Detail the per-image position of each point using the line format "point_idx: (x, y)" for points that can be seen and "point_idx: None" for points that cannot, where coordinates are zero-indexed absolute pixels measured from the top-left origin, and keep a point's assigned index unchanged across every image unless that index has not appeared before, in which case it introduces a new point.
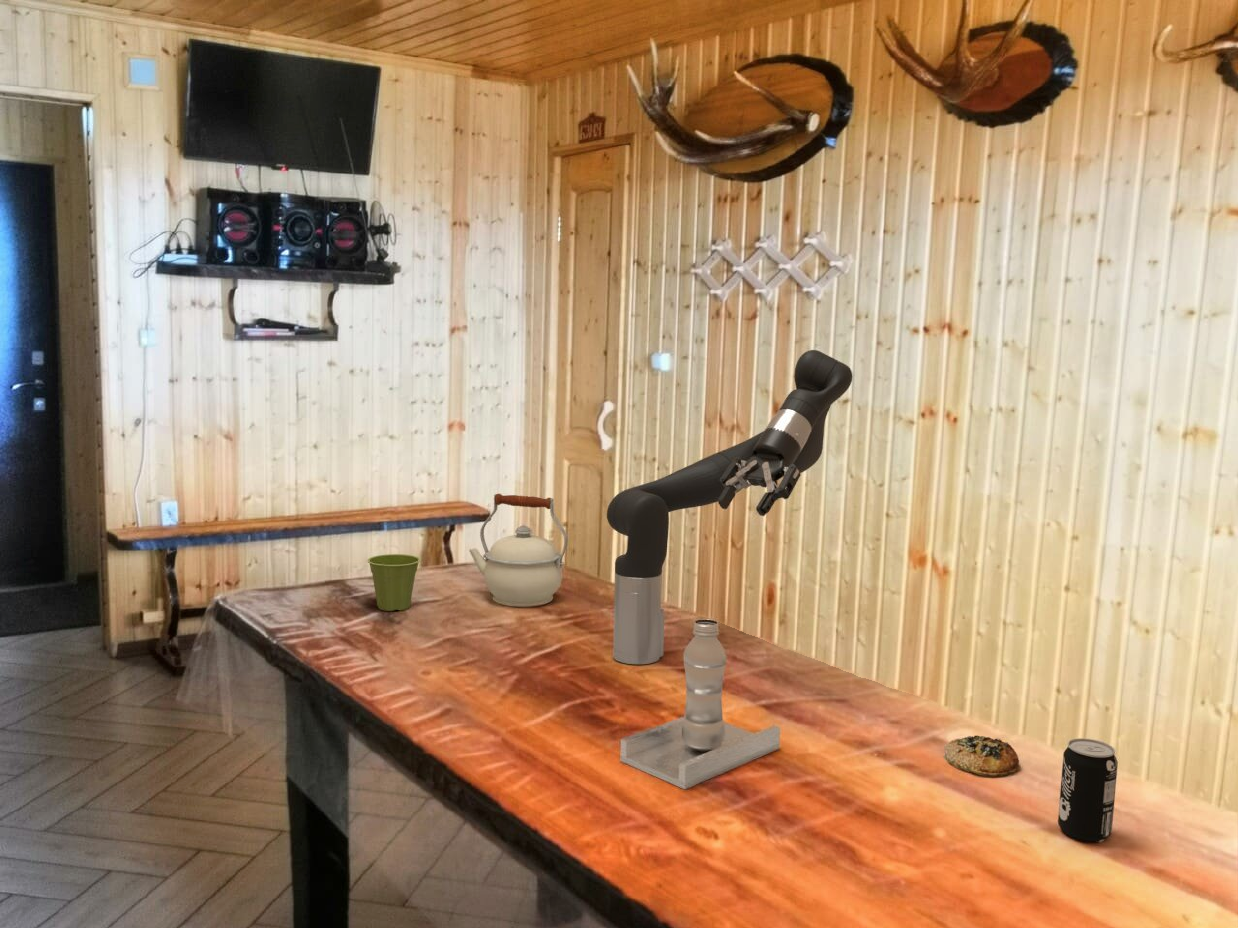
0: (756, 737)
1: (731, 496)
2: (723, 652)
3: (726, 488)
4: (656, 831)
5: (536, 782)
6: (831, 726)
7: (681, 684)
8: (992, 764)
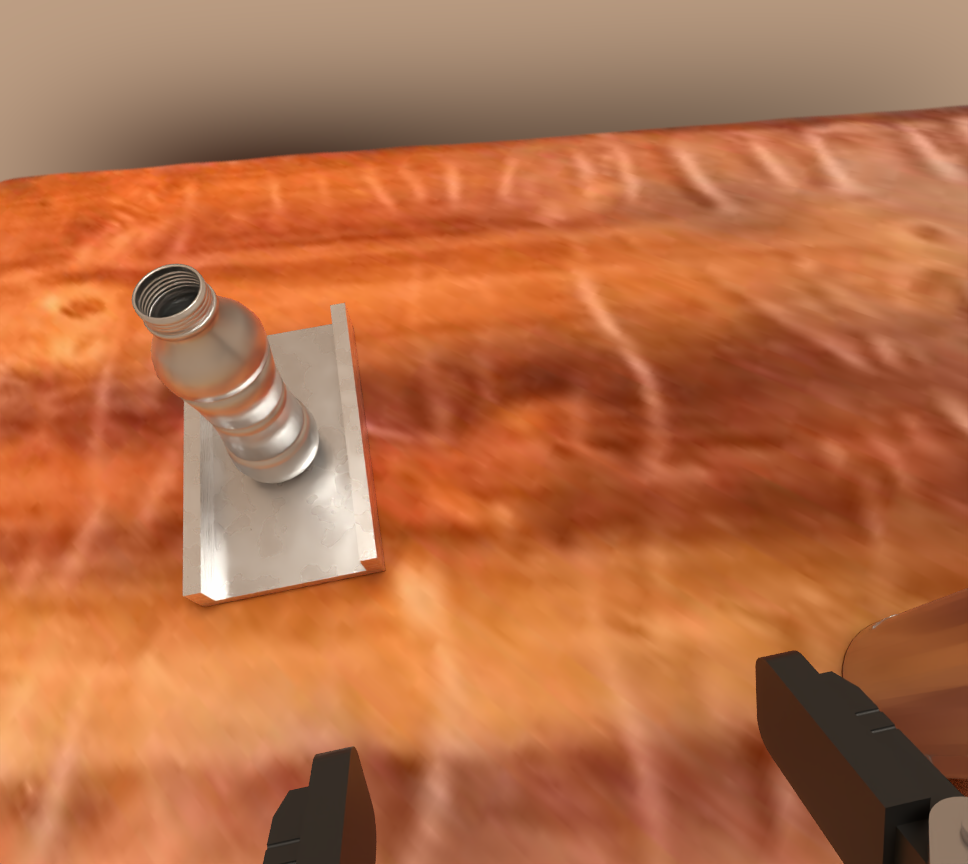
0: (183, 514)
1: (838, 825)
2: (154, 363)
3: (898, 768)
4: (137, 259)
5: (365, 204)
6: (205, 829)
7: (654, 669)
8: None
